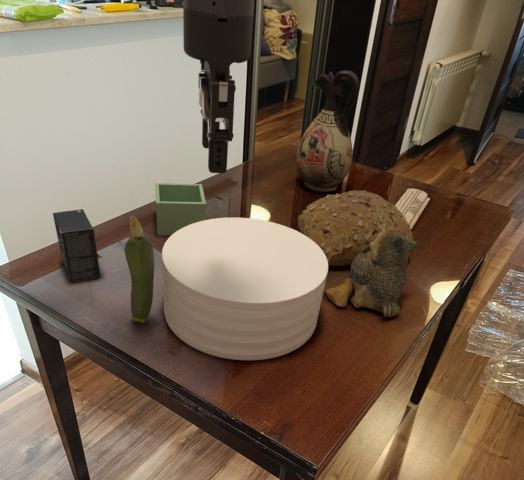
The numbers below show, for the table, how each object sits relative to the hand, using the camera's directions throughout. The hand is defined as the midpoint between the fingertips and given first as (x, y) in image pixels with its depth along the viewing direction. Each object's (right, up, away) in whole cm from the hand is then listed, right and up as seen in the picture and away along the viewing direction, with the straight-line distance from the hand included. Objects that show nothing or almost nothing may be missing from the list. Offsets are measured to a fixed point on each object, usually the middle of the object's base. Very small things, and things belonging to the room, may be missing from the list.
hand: (213, 159), depth 62 cm
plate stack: (+2, -17, +27) cm, 32 cm away
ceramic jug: (+23, +22, +76) cm, 82 cm away
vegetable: (-14, -20, +22) cm, 32 cm away
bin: (-13, +4, +50) cm, 51 cm away
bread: (+26, -1, +50) cm, 56 cm away
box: (-29, -9, +32) cm, 44 cm away
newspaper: (+46, +14, +69) cm, 85 cm away
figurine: (+27, -14, +34) cm, 46 cm away
